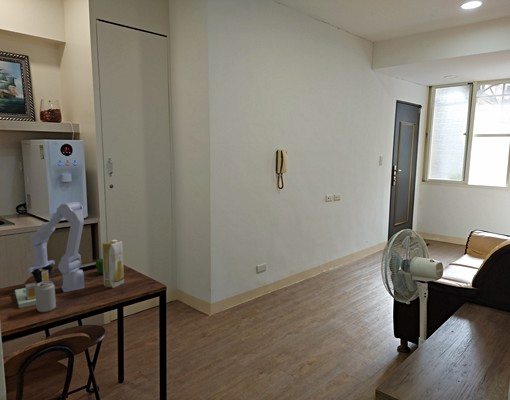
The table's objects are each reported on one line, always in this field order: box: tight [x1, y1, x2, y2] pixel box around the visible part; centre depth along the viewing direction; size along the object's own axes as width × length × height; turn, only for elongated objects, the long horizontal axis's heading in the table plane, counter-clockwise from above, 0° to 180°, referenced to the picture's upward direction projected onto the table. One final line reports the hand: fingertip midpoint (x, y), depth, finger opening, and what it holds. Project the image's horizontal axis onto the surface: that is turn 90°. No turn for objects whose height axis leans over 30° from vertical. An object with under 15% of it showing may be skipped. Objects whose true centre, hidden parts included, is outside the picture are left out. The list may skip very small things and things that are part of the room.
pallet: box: [14, 285, 37, 309], centre depth 177 cm, size 11×20×2 cm, turn 37°
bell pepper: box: [95, 257, 103, 275], centre depth 213 cm, size 8×8×10 cm
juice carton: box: [101, 239, 125, 289], centre depth 194 cm, size 9×8×24 cm
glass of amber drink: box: [24, 282, 37, 300], centre depth 173 cm, size 4×4×8 cm
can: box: [35, 280, 57, 313], centre depth 165 cm, size 8×8×12 cm
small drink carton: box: [35, 268, 50, 285], centre depth 193 cm, size 4×4×8 cm
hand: (42, 281), depth 193 cm, fingers open, 4 cm apart
